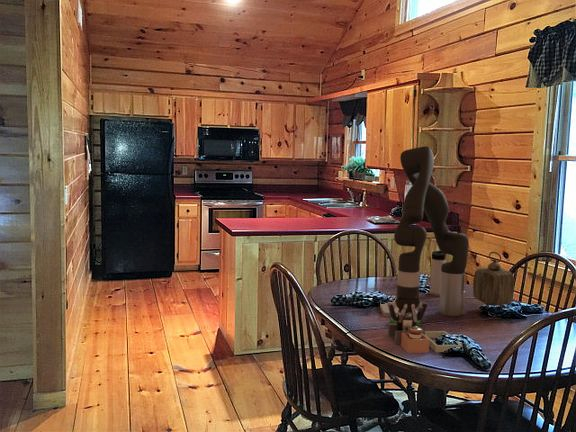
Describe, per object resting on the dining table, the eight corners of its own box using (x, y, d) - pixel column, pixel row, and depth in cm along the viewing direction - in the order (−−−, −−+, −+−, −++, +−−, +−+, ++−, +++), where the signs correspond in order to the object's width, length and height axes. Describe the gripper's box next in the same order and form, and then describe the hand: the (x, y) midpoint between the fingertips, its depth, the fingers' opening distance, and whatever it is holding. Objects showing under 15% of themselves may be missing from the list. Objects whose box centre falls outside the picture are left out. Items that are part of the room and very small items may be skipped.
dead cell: (418, 346, 181) (419, 324, 180) (422, 350, 177) (424, 328, 176) (406, 346, 180) (407, 324, 179) (410, 351, 176) (411, 328, 175)
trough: (444, 338, 191) (444, 330, 190) (462, 352, 177) (462, 345, 177) (419, 338, 190) (420, 331, 189) (436, 353, 176) (436, 346, 175)
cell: (409, 331, 189) (410, 310, 188) (413, 335, 185) (414, 314, 184) (398, 331, 188) (399, 310, 187) (402, 336, 184) (403, 314, 183)
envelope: (407, 302, 237) (376, 301, 238) (407, 297, 237) (376, 296, 238) (418, 318, 214) (384, 317, 214) (419, 312, 213) (384, 311, 214)
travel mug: (445, 293, 250) (447, 251, 247) (441, 296, 244) (443, 253, 242) (432, 291, 253) (434, 249, 251) (427, 294, 248) (430, 251, 245)
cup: (420, 346, 182) (421, 332, 182) (428, 354, 175) (429, 339, 175) (400, 346, 181) (401, 332, 181) (408, 354, 175) (408, 340, 174)
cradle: (412, 334, 194) (412, 320, 194) (424, 345, 183) (425, 331, 182) (385, 334, 193) (386, 321, 192) (395, 346, 182) (396, 332, 181)
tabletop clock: (512, 315, 219) (516, 254, 215) (494, 317, 215) (498, 256, 212) (487, 305, 232) (491, 248, 229) (470, 307, 229) (473, 249, 226)
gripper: (423, 280, 189) (421, 327, 191) (384, 281, 187) (382, 328, 189) (432, 285, 181) (429, 335, 184) (391, 286, 180) (389, 336, 182)
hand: (406, 331), depth 186 cm, fingers closed on cell, 4 cm apart
